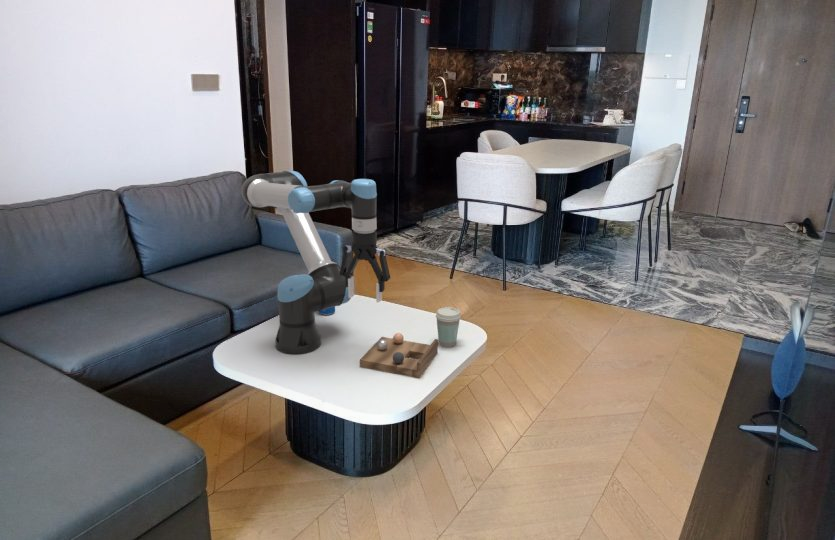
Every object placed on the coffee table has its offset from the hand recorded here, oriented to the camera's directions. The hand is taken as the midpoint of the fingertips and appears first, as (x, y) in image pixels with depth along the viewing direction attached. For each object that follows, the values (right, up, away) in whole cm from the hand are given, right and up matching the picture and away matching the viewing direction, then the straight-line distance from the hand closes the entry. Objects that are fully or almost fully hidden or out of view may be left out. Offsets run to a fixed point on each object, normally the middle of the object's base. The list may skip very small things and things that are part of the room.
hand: (365, 298), depth 186 cm
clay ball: (+10, -14, +8) cm, 19 cm away
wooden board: (+11, -20, +3) cm, 23 cm away
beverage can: (-18, -8, +38) cm, 43 cm away
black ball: (+11, -18, -5) cm, 22 cm away
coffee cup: (+27, -16, +14) cm, 35 cm away
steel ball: (+5, -15, +3) cm, 16 cm away
